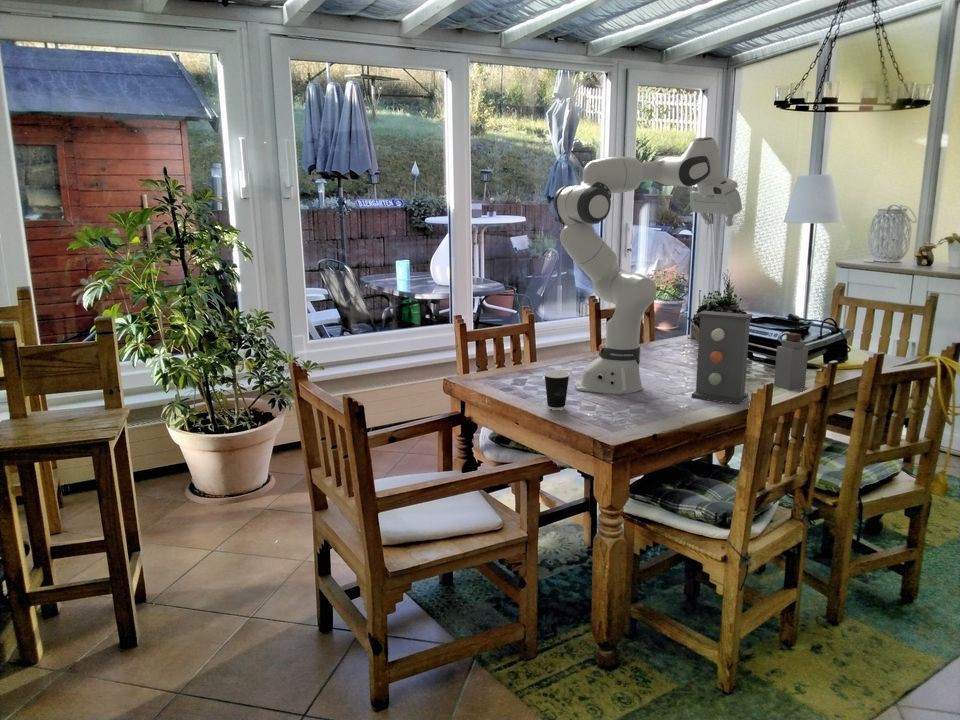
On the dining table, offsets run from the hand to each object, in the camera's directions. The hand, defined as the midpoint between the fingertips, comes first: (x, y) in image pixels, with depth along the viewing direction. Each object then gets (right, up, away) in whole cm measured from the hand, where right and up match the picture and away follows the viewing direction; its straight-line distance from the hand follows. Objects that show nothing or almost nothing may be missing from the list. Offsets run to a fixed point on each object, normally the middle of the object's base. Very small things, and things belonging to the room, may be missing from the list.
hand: (718, 224), depth 247 cm
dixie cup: (-57, -61, -23) cm, 87 cm away
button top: (-7, -40, -22) cm, 46 cm away
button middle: (-7, -46, -21) cm, 51 cm away
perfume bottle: (+23, -55, -2) cm, 59 cm away
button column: (-4, -58, -13) cm, 59 cm away
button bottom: (-7, -53, -19) cm, 57 cm away
